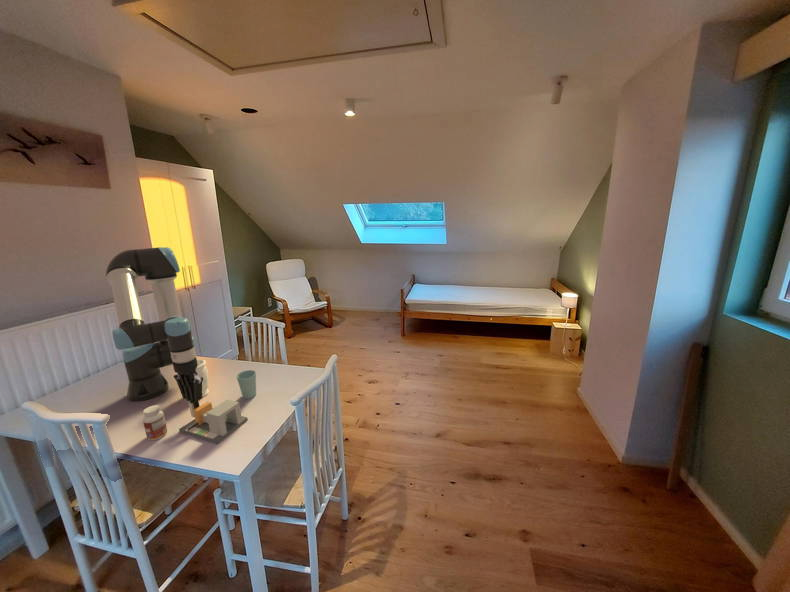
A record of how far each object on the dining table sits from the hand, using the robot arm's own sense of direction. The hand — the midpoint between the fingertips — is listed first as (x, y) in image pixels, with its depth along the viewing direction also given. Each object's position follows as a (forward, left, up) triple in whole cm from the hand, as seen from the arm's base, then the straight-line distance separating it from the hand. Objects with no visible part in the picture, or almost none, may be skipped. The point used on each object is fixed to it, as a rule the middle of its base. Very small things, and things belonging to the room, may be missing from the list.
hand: (196, 415), depth 125 cm
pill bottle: (-7, -11, -3) cm, 13 cm away
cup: (+5, +21, -3) cm, 22 cm away
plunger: (+8, -2, -1) cm, 9 cm away
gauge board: (+8, 0, -3) cm, 9 cm away
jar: (-18, +14, -3) cm, 23 cm away
